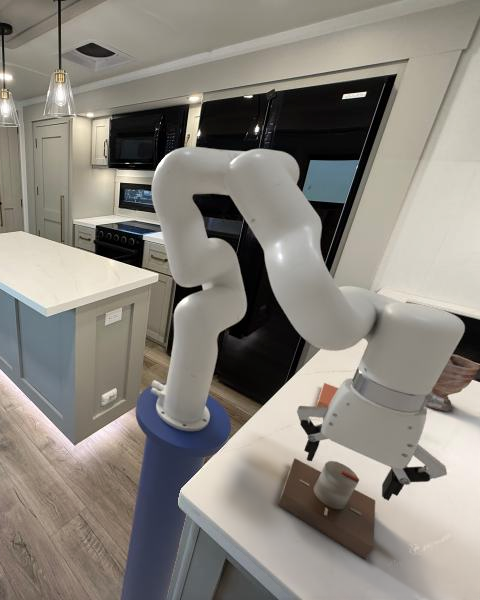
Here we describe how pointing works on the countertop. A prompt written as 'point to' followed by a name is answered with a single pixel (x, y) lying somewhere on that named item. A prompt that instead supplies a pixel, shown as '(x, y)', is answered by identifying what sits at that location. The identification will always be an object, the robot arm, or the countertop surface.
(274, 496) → the countertop surface
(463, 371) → the mortar and pestle
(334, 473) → the lock knob
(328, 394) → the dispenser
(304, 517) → the lock panel
